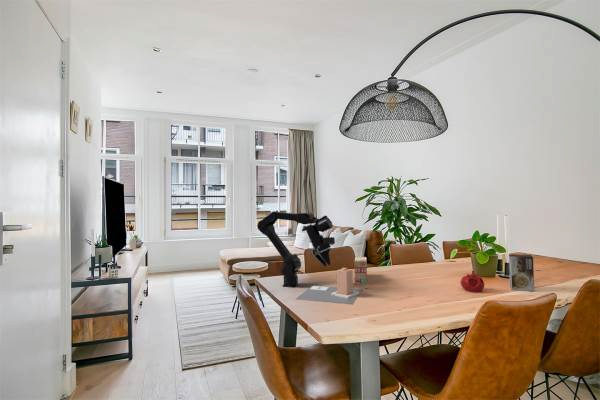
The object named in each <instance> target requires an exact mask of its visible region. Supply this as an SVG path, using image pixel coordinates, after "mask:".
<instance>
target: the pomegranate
mask: <svg viewBox="0 0 600 400" xmlns="http://www.w3.org/2000/svg"><path fill="white" fill-rule="evenodd" d="M474 273H475V270H471V273H470V272H468V273H467V272H466V273H465V275H464V276H462V278H461V280H460V285H461V287H462V289H463V290H465V291H467V292H471V293H478V292H479V293H481V292H482V291H483V290H484V288H485V283H484V280H483V278H482V276H480V275H479V273H475V274H474Z"/></svg>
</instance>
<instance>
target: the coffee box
mask: <svg viewBox="0 0 600 400" xmlns="http://www.w3.org/2000/svg"><path fill="white" fill-rule="evenodd" d="M508 267H509V272H508V273H509V287H510V289H511V290H513V291H520V292H521V291H524V292H535V273H534V271H535V270H534V269H535V268H534V267H535V266H534V257H533V256H532V254H514V253H509V254H508Z"/></svg>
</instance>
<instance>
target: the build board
mask: <svg viewBox="0 0 600 400" xmlns="http://www.w3.org/2000/svg"><path fill="white" fill-rule="evenodd" d="M363 291H364V289H363V288H357V287H356V288H355V287H354V288H353V294H351V295H348V296H346V295H341V294H337V286H328V285H327V286H325V285H313V284H312V285H311V286H309V288H307V289H306V290H305V291H303V292H302V293H301V294H299V295H298V296H297V297H296V298H295V300H299V301H309V302H320V303H329V304H330V303H332V304H343V305H352V306H353V304H354V303H355V302H356V300H357V299H358V297H359V296H360V294H361V292H363Z"/></svg>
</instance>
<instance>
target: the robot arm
mask: <svg viewBox="0 0 600 400" xmlns="http://www.w3.org/2000/svg"><path fill="white" fill-rule="evenodd" d="M277 220H282V221H283V220H284V221H294V222H296V223H297V224H301V225H303V227H302V229H301V232H306V234H307V236H308V238H309V243H311V245H312V250H311V254H312V256H314V258H315V259H317V261H318V262H319V263H321V265H322V266H323V267H327V266H330V265H331V259H330V251H331V247H332V245H333V246H334V244H335V243H336V242H335V237H333V236H332V237H331V236H328V237H327V236H326V237H324V235H322V234H321V233H324V232H327V231H329V230H331V229H332V228H333V222H332V220H330V218H329V217H328V215H323V216H321V217H320V218H317V217H316V216H314V214H313V213H312V212H302V213H300V212H299V213H293V212H285V211H284V212H282V211H276V210H274V211H272V212H270V213H269V214H268V215H266V216H265V217H264V218H263V219H261V220H259V221H258V222H257V226H256V228H257V229H258V231H260V233H261V234H262V235H264V236H266V237H267V238H268V240H269V241H270V242H271V244H272V245H273V247H274V248H275V249H276V251H277V252H278V254H279V255H280V256H281V258H282V260H283V261H282V262H283V266H284V267H283V269H281V274H282V275H283V284H282V287H287V288H290V287H291V288H295V287H297V286H298V285H299V276H298V272H299V270H300V269H301V267H302V262H301V258H299V257H298V255H297V253H293V254H292V253H291V252H290V250H289V249H288V248H287V246H286V245H285V243H284V242H283V241H282V239H281V238H280V236H279V235H278V234H277V232H276V231H275V230H276V229H275V224H276V223H277ZM320 232H321V233H320Z"/></svg>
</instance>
